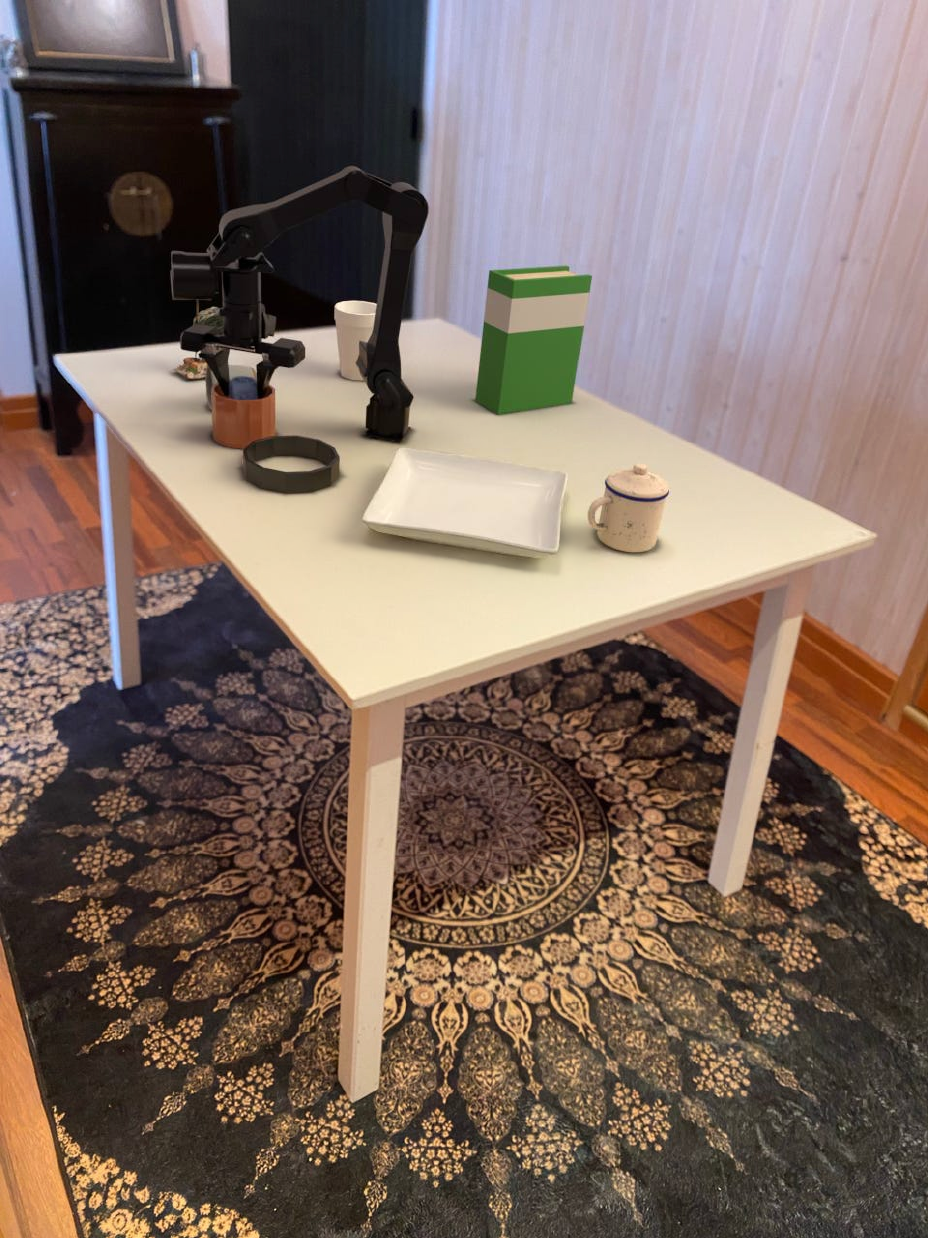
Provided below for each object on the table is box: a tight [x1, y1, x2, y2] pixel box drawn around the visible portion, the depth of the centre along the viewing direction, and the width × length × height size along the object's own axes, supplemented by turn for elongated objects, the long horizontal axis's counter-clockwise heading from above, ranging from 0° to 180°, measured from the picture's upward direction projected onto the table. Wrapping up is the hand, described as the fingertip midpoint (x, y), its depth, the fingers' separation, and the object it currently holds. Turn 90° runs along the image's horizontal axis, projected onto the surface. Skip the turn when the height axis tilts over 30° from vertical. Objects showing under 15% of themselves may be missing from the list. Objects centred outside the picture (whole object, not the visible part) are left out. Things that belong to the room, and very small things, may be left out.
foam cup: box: [333, 300, 377, 382], centre depth 193 cm, size 10×9×13 cm
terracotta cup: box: [211, 383, 276, 450], centre depth 163 cm, size 10×10×8 cm
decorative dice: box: [229, 376, 258, 400], centre depth 162 cm, size 4×4×4 cm
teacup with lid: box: [587, 463, 670, 553], centre depth 144 cm, size 12×9×12 cm
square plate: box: [361, 447, 569, 559], centre depth 148 cm, size 27×27×4 cm
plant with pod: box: [172, 300, 224, 380], centre depth 184 cm, size 8×11×20 cm
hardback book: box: [474, 265, 593, 415], centre depth 186 cm, size 18×7×24 cm, turn 124°
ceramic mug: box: [205, 364, 257, 411], centre depth 175 cm, size 11×8×8 cm
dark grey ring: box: [242, 434, 341, 494], centre depth 155 cm, size 14×14×3 cm
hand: (244, 398), depth 162 cm, fingers closed on decorative dice, 5 cm apart
